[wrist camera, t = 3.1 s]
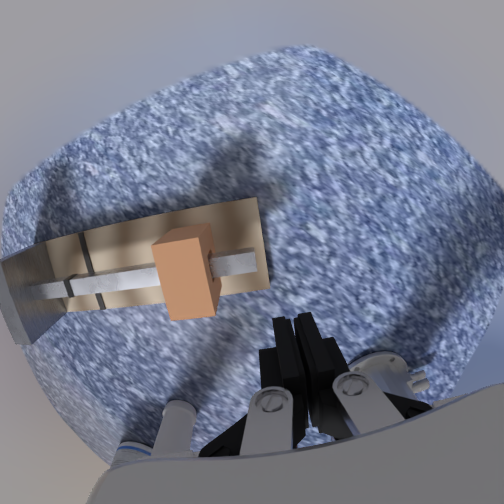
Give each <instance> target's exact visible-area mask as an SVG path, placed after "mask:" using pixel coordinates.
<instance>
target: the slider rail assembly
mask: <svg viewBox="0 0 504 504" xmlns="http://www.w3.org/2000/svg"><path fill="white" fill-rule="evenodd" d="M207 257H208V262H209V267H210V272H211V276H212V278H216V277H223V276H230V275H237V274H243V273H250V272H257V264H256V257H255V251H254V247H248V248H242V249H235V250H229V251H222V252H216V253H209V254H208V255H207ZM158 285H161V284H160V281H159V277H158V273H157V269H156V265H155V262H152V263H146V264H140V265H133V266H127V267H121V268H115V269H108V270H102V271H96V272H90V273H84V274H72V275H70V276H65V277H59V278H55V274H54V271H53V268H52V264H51V261H50V257H49V254H48V250H47V246H46V242H42V243H38V244H35V245H31V246H28V247H26V248H24V249H22V250H19V251H17V252H15V253H13V254H10V255H8V256H6V257H4V258H2V259H0V309H1V312H2V314H3V317H4V319H5V322H6V324H7V326H8V329H9V331H10V333H11V335H12V338H13V340H14V341H15V344H21V345H32V344H33V343H34V342H35V341H36V340H38V339H39V338H40V337H41V336H42V335H43V334H44V333H45V332H46V331H47V330H48V329H49V328H50V327H51V326H52V325H54V324H55V323H56V322H57V321H58V320H59V319H60V318H61V317H62V316H63V315H65V314H66V313H67V309H66V307H65V304H64V301H63V299H62V297H69V298H71V297H75V296H78V295H87V294H95V293H104V292H112V291H120V290H128V289H136V288H143V287H151V286H158Z"/></svg>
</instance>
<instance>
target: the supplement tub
mask: <svg viewBox="0 0 504 504" xmlns="http://www.w3.org/2000/svg"><path fill="white" fill-rule="evenodd" d="M152 450H153V449H152V448H150V447H148V446H146V445H144V444H141V443H137V442H123V443H121V444H120V445H119V446H118V449H117V451H116V454H115V456H114V459H113V462H112V465H111V467H110V468H112V467H114V466H117V465H120V464H123V463H127V462H132V461H135V460H137V459H138V458H141V457H146V456H151V453H152Z"/></svg>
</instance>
